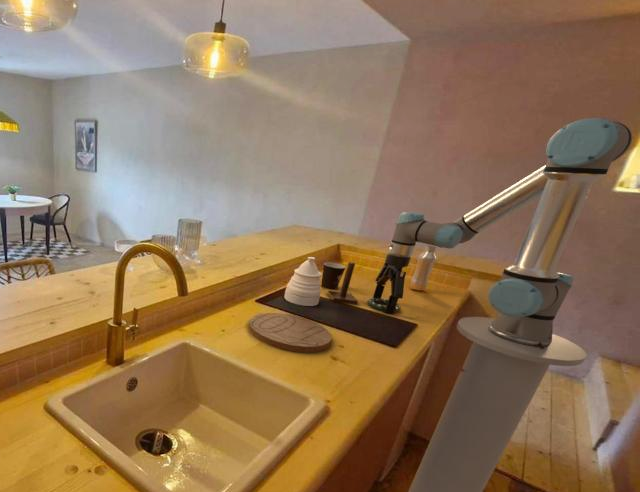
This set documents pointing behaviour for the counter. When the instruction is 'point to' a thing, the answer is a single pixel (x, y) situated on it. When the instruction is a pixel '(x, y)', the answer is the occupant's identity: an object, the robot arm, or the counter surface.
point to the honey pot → (304, 285)
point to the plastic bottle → (423, 269)
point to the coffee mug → (332, 275)
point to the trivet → (289, 332)
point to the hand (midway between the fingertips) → (382, 306)
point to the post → (344, 288)
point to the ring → (373, 304)
